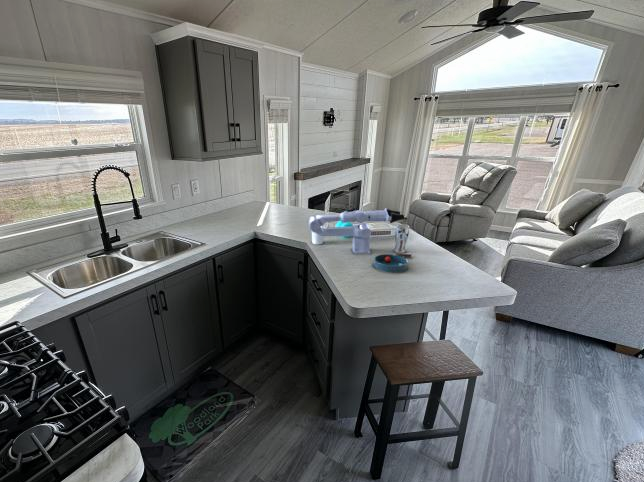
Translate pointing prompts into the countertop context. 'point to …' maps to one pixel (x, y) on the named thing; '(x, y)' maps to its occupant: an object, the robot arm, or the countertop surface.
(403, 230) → the beer glass
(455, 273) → the countertop surface
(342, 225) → the donuts
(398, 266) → the bowl
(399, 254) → the paddle
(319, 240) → the white cup
